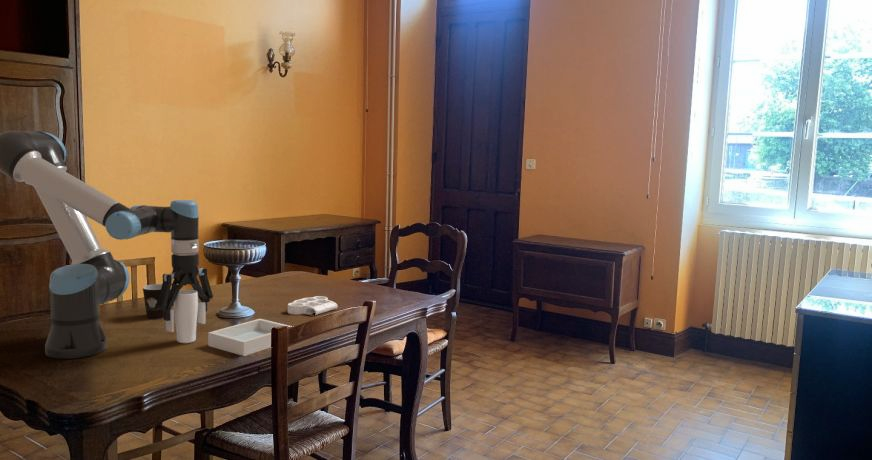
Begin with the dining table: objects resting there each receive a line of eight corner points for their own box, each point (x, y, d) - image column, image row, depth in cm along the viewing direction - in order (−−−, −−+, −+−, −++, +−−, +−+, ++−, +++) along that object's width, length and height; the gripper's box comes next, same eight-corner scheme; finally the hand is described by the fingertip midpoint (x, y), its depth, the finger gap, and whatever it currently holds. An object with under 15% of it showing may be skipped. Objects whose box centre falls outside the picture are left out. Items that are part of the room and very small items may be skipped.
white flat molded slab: (309, 319, 229) (278, 312, 237) (343, 309, 244) (312, 303, 252) (309, 309, 229) (278, 303, 236) (343, 300, 244) (313, 294, 251)
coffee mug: (137, 316, 223) (136, 287, 222) (158, 311, 230) (158, 283, 229) (161, 322, 218) (161, 292, 216) (182, 316, 225) (182, 287, 224)
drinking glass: (203, 340, 200) (202, 291, 198) (184, 346, 194) (183, 295, 192) (188, 336, 203) (188, 288, 201) (169, 341, 198) (168, 292, 196)
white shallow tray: (244, 356, 187) (244, 342, 187) (208, 345, 195) (208, 332, 195) (294, 339, 204) (294, 326, 204) (259, 330, 212) (259, 318, 211)
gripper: (158, 259, 184) (160, 338, 186) (225, 250, 203) (225, 321, 206) (141, 256, 188) (143, 333, 190) (208, 247, 207) (209, 316, 210)
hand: (186, 326), depth 198 cm, fingers open, 10 cm apart
